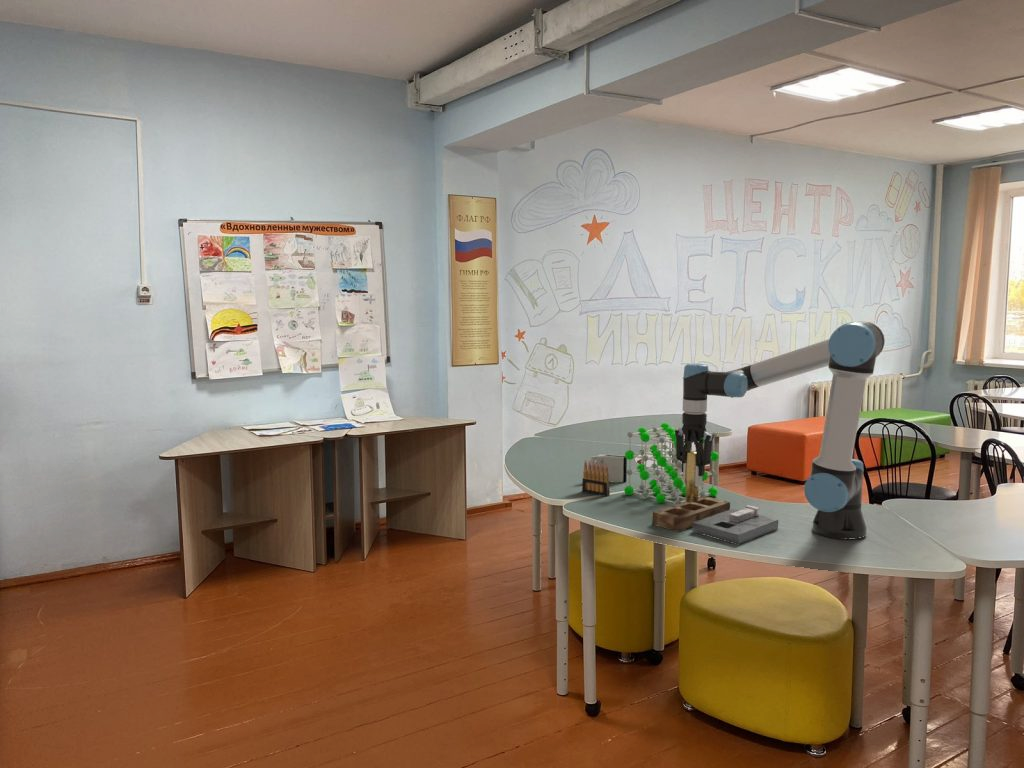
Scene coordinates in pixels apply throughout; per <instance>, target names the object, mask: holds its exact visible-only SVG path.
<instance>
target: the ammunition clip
mask: <svg viewBox="0 0 1024 768" xmlns="http://www.w3.org/2000/svg"><path fill="white" fill-rule="evenodd" d="M596 462H597V461H595V462H594V461H593V464H592V471H591V460H589V461H588V463H587V460H586V459H585V460H584V463H583V472H582V474H583V475H582V483H581V485H582V487H581V492H582V493H586V494H591V495H596V496H602V497H609V496H610V493H611V491H610V482H609V475H608V465H607V463H606V465H605V473H604V466H603V463H601V469H600V470H599V463H598V462H597V466H596V470H595V463H596Z"/></svg>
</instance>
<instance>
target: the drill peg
mask: <svg viewBox="0 0 1024 768" xmlns="http://www.w3.org/2000/svg"><path fill="white" fill-rule="evenodd" d="M697 465H698V461H697V454H696V450H692V451H688V452H687V467H686V496H685V497H686V501H687V502H691V503H696V502H698V494H700V492H699V489H700V486H695V472H696V466H697Z"/></svg>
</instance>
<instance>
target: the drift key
mask: <svg viewBox="0 0 1024 768" xmlns="http://www.w3.org/2000/svg"><path fill="white" fill-rule="evenodd" d="M739 510H740V511H737V512H734V513H731V514H729V521H733V522H737V523H738V522H741V521H744V520H746V519H749V518H752V517H755V516H759V515H761V511H760V510H761V507H758V506H753V505H748V504H747V505H746V506H745V508H743V509H739Z"/></svg>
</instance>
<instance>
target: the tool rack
mask: <svg viewBox="0 0 1024 768" xmlns="http://www.w3.org/2000/svg"><path fill="white" fill-rule="evenodd" d="M728 510H731V501H728V500H723V499H718V498H714V497H711V496H710V497H709V496H707V495H706V496H703V497H699V498H698V502H696V503H691V502H684V503H680V504H677V505H676V504H675V505H671V506H668V507H665V508H662V509H659V510H655V511H652V521H651V522H652V523H651V525H653V524H655V525H654V526H656V525H658V526H657V527H660V526H661V527H660V528H664V527H665V528H664V529H667V528H669V529H668V530H671V529H672V530H671V531H674V530H675V532H682V531H684V529H685V530H687V528H688V529H690V527H691V528H693V527H692V526H693V522H695V521H698V520H701V519H704V518H707V517H710V516H713V515H716V514H719V513H722V512H725V511H728ZM681 530H682V531H681Z"/></svg>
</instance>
